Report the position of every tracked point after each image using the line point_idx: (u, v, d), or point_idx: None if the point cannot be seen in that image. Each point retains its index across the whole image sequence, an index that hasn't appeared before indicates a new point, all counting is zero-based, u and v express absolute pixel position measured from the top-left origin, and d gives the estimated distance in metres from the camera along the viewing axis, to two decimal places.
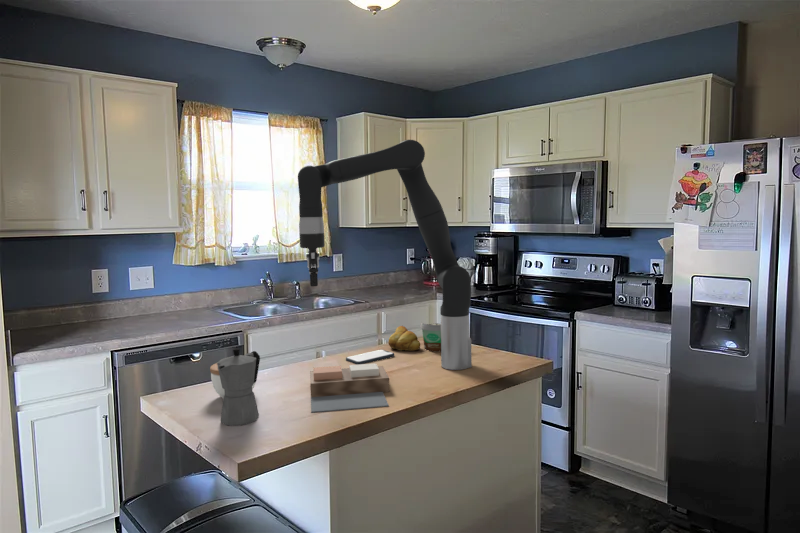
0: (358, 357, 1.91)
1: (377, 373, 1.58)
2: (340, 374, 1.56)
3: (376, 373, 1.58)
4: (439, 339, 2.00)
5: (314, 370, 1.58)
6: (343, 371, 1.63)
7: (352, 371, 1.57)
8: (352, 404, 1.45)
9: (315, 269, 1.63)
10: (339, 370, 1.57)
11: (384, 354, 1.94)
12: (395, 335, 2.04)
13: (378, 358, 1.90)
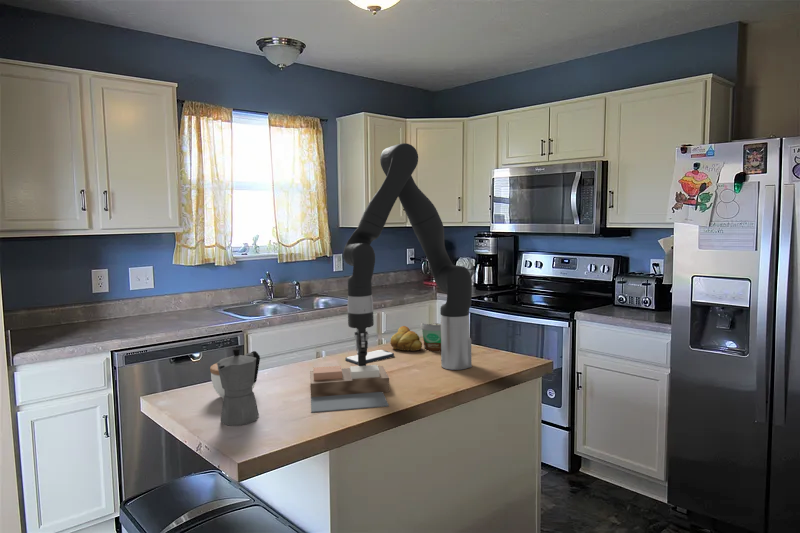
0: None
1: (378, 374, 1.56)
2: (340, 374, 1.56)
3: (376, 375, 1.56)
4: (439, 339, 2.00)
5: (314, 370, 1.58)
6: (343, 371, 1.63)
7: (352, 372, 1.55)
8: (352, 404, 1.45)
9: (364, 354, 1.60)
10: (339, 370, 1.57)
11: (384, 354, 1.94)
12: (397, 335, 2.04)
13: (377, 358, 1.90)
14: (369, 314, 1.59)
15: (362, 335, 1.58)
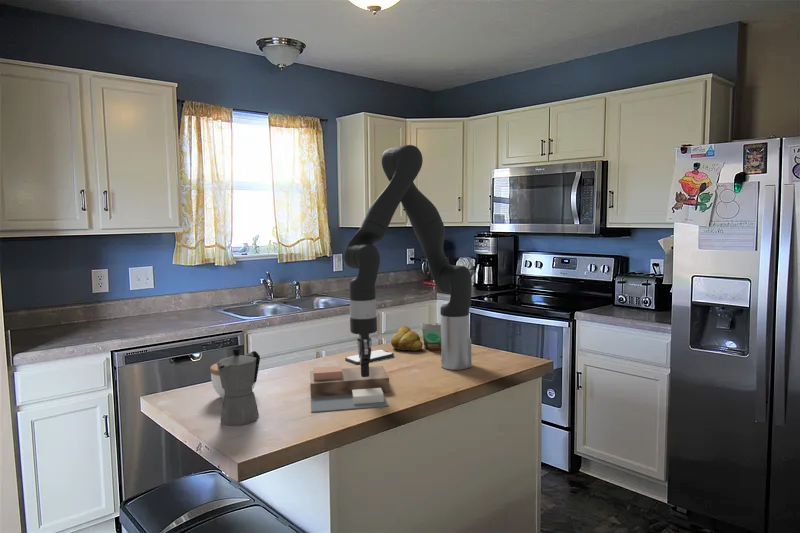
0: (357, 357, 1.91)
1: None
2: (340, 374, 1.56)
3: None
4: (439, 339, 2.00)
5: (314, 370, 1.58)
6: (343, 371, 1.63)
7: None
8: (352, 404, 1.45)
9: (367, 361, 1.51)
10: (339, 370, 1.57)
11: (383, 354, 1.93)
12: (397, 335, 2.04)
13: (377, 358, 1.90)
14: (372, 319, 1.51)
15: (365, 341, 1.50)
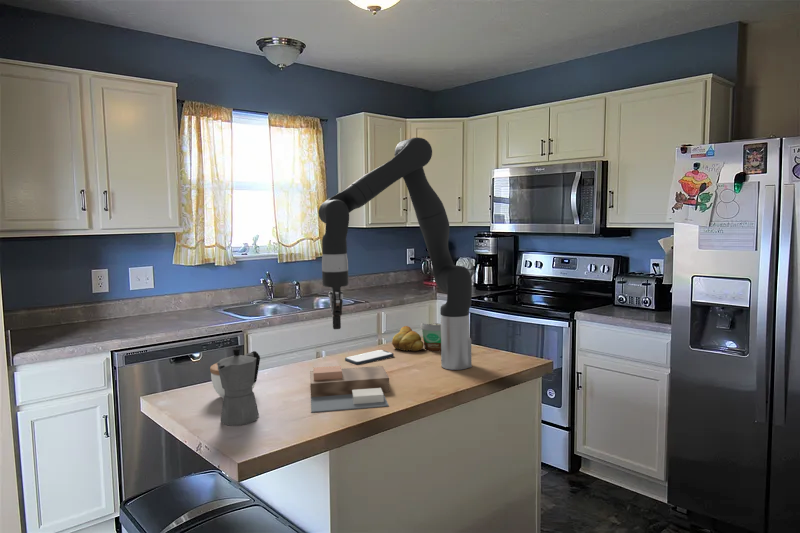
0: (357, 357, 1.91)
1: None
2: (340, 374, 1.56)
3: None
4: (439, 339, 2.00)
5: (314, 370, 1.58)
6: (343, 371, 1.63)
7: None
8: (352, 404, 1.45)
9: (339, 313, 1.57)
10: (339, 370, 1.57)
11: (383, 354, 1.93)
12: (398, 335, 2.03)
13: (377, 358, 1.90)
14: (344, 273, 1.56)
15: (337, 294, 1.55)
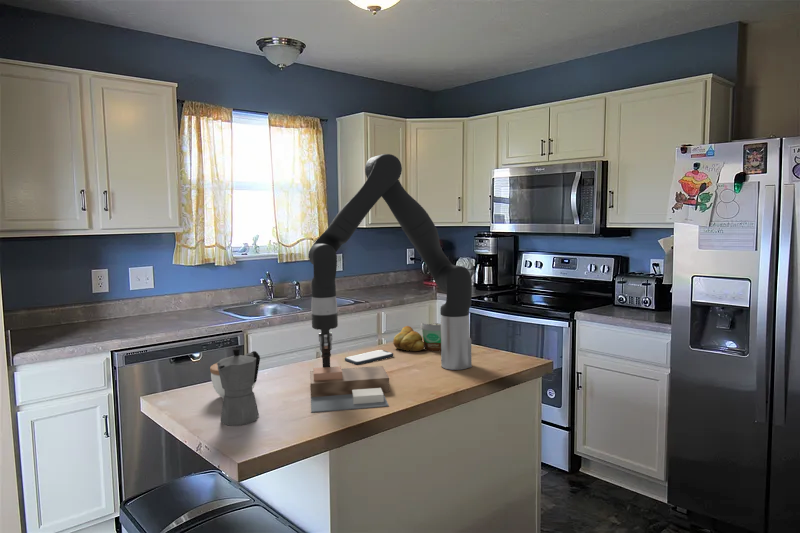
0: (357, 357, 1.91)
1: None
2: (340, 375, 1.56)
3: None
4: (439, 339, 2.00)
5: (314, 370, 1.57)
6: (343, 371, 1.63)
7: None
8: (352, 404, 1.45)
9: (328, 355, 1.59)
10: (339, 370, 1.57)
11: (383, 354, 1.93)
12: (399, 335, 2.03)
13: (377, 358, 1.90)
14: (333, 315, 1.58)
15: (325, 336, 1.57)
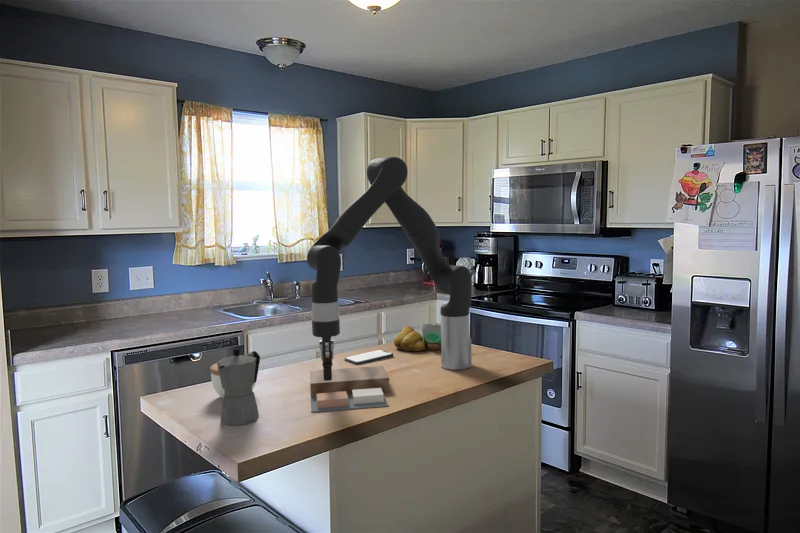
0: (357, 357, 1.91)
1: None
2: None
3: None
4: (439, 339, 2.00)
5: None
6: (343, 371, 1.63)
7: None
8: (352, 404, 1.45)
9: (329, 365, 1.49)
10: None
11: (383, 354, 1.93)
12: (400, 335, 2.03)
13: (377, 358, 1.90)
14: (334, 322, 1.48)
15: (327, 345, 1.47)
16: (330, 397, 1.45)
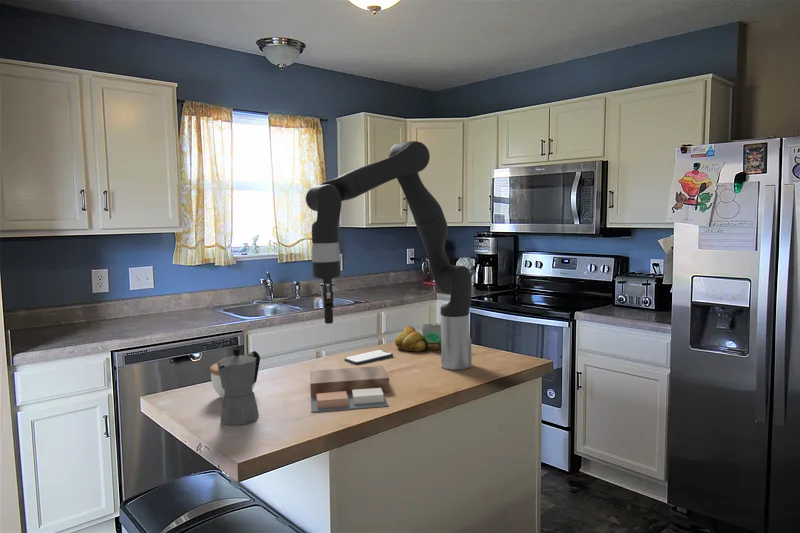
0: (357, 357, 1.91)
1: None
2: None
3: None
4: (439, 339, 2.00)
5: None
6: (343, 371, 1.63)
7: None
8: (352, 404, 1.45)
9: (330, 306, 1.46)
10: None
11: (383, 354, 1.93)
12: (401, 335, 2.03)
13: (376, 358, 1.90)
14: (335, 263, 1.46)
15: (328, 286, 1.45)
16: (330, 397, 1.45)
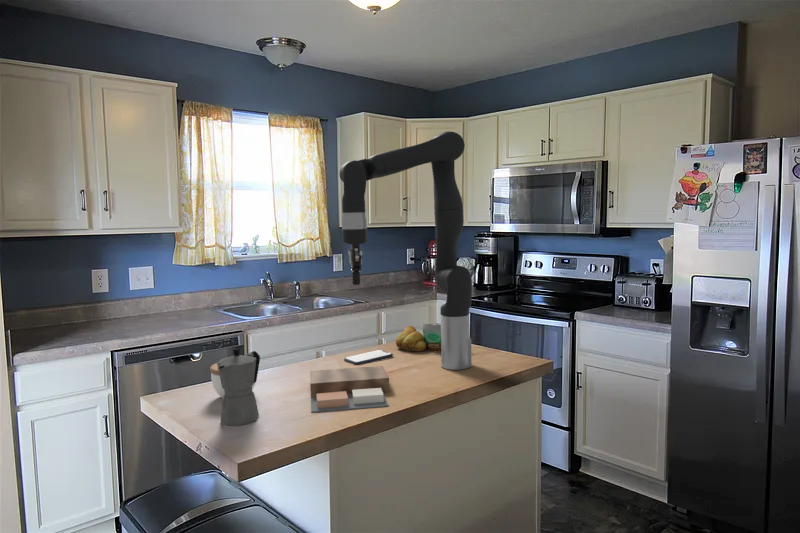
0: (356, 357, 1.91)
1: None
2: None
3: None
4: (439, 339, 2.00)
5: None
6: (343, 371, 1.63)
7: None
8: (352, 404, 1.45)
9: (358, 269, 1.65)
10: None
11: (382, 354, 1.93)
12: (401, 335, 2.03)
13: (376, 358, 1.90)
14: (363, 230, 1.64)
15: (356, 250, 1.63)
16: (330, 397, 1.45)
